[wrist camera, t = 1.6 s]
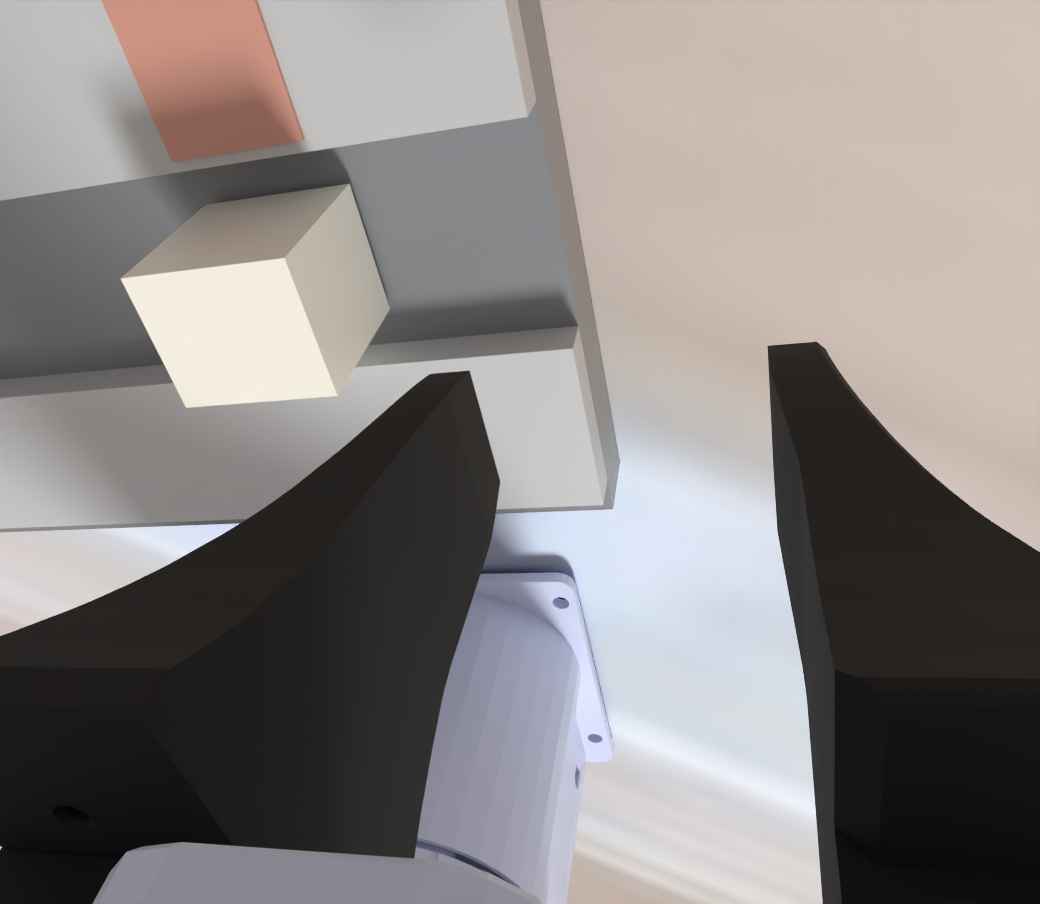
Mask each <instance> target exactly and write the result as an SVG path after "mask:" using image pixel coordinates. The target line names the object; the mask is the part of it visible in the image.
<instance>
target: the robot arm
mask: <svg viewBox="0 0 1040 904" xmlns="http://www.w3.org/2000/svg"><path fill="white" fill-rule="evenodd" d="M768 361H769V382H770V403H771V424H772V445H773V465H774V482H775V497H776V513H777V528H778V536H779V541H780V547H781V552H782V558H783V563H784V569H785V574H786V580H787V585H788V590H789V596H790V601H791V607H792V612H793V617H794V623H795V628H796V633H797V639H798V644H799V650H800V655H801V660H802V666H803V673H804V680H805V687H806V694H807V704H808V716H809V729H810V741H811V754H812V767H813V780H814V792H815V805H816V818H817V831H818V844H819V858H820V871H821V884H822V898H823V904H1040V552H1038V551H1037V550H1035V549H1034V548H1032V547H1030V546H1029V545H1027V544H1026V543H1024V542H1023V541H1021V540H1019V539H1018V538H1016V537H1015V536H1013V535H1012V534H1010V533H1009V532H1007V531H1005V530H1004V529H1002V528H1001V527H999V526H998V525H996V524H994V523H993V522H991V521H990V520H989V519H987V518H986V517H984V516H983V515H981V514H980V513H979V512H977V511H976V510H974V509H973V508H972V507H970V506H969V505H968V504H967V503H965V502H964V501H963V500H962V499H960V498H959V497H958V496H957V495H955V494H954V493H953V492H952V491H950V490H949V489H948V488H947V487H945V486H944V485H943V484H942V483H941V482H940V481H939V480H937V479H936V478H935V477H934V476H933V475H932V474H931V473H929V472H928V471H927V470H926V469H925V468H924V467H923V466H922V465H921V464H920V463H919V462H918V461H917V460H916V459H915V458H914V457H912V456H911V455H910V454H909V453H908V452H907V451H906V450H905V449H904V448H903V447H902V446H901V445H900V444H899V443H898V442H897V441H896V440H895V439H894V437H893V436H892V435H891V434H890V433H889V432H888V431H887V430H886V429H885V428H884V427H883V426H882V424H881V423H880V422H879V421H878V420H877V419H876V418H875V416H874V415H873V414H872V413H871V412H870V411H869V410H868V408H867V407H866V406H865V405H864V404H863V402H862V401H861V400H860V399H859V398H858V396H857V395H856V394H855V393H854V391H853V390H852V389H851V387H850V386H849V385H848V383H847V382H846V381H845V379H844V378H843V376H842V375H841V374H840V372H839V371H838V369H837V368H836V366H835V365H834V363H833V361H832V360H831V358H830V357H829V355H828V353H827V351H826V349H825V348H823V347H822V346H821V345H820V344H819V343H817V342H810V343H798V344H785V345H773V346H768ZM499 487H500V478H499V475H498V471H497V468H496V464H495V460H494V457H493V453H492V450H491V446H490V442H489V439H488V435H487V432H486V428H485V424H484V421H483V417H482V414H481V410H480V406H479V403H478V399H477V395H476V392H475V388H474V385H473V381H472V377H471V374H470V371H459V372H446V373H434V374H429V375H428V376H426V377H425V378H424V379H422V380H421V381H420V382H418V383H417V384H416V385H415V386H413V387H412V388H411V389H410V390H408V391H407V392H406V393H405V394H404V395H403V396H401V397H400V398H399V399H398V400H397V401H396V402H395V403H393V404H392V405H391V406H390V407H389V408H388V409H387V410H386V411H384V412H383V413H382V414H381V415H380V416H379V417H378V418H376V419H375V420H374V421H373V422H372V423H371V424H369V425H368V426H367V427H366V428H365V429H364V430H363V431H361V432H360V433H359V434H358V435H357V436H356V437H355V438H353V439H352V440H351V441H350V442H349V443H348V444H346V445H345V446H344V447H343V448H342V449H341V450H339V451H338V452H337V453H336V454H334V455H333V456H332V457H330V458H329V459H328V460H327V461H325V462H324V463H323V464H322V465H320V466H319V467H318V468H317V469H315V470H314V471H313V472H312V473H310V474H309V475H308V476H307V477H305V478H304V479H303V480H302V481H300V482H299V483H298V484H297V485H295V486H294V487H293V488H291V489H290V490H289V491H287V492H286V493H284V494H283V495H282V496H280V497H279V498H278V499H276V500H275V501H273V502H272V503H270V504H269V505H268V506H266V507H265V508H263V509H262V510H260V511H259V512H257V513H255V514H254V515H252V516H251V517H249V518H248V519H246V520H245V521H243V522H242V523H240V524H239V525H237V526H236V527H234V528H232V529H231V530H229V531H227V532H226V533H224V534H223V535H221V536H219V537H217V538H215V539H214V540H212V541H210V542H208V543H206V544H205V545H203V546H201V547H199V548H198V549H196V550H194V551H192V552H190V553H189V554H187V555H185V556H183V557H181V558H180V559H178V560H176V561H174V562H172V563H171V564H169V565H167V566H165V567H163V568H161V569H159V570H157V571H155V572H153V573H151V574H149V575H147V576H145V577H143V578H141V579H139V580H137V581H135V582H133V583H131V584H129V585H126V586H124V587H122V588H120V589H117V590H115V591H113V592H111V593H109V594H106V595H104V596H102V597H100V598H97V599H95V600H93V601H90V602H88V603H86V604H83V605H81V606H79V607H76V608H74V609H71V610H69V611H66V612H63V613H61V614H58V615H56V616H53V617H50V618H48V619H45V620H42V621H40V622H37V623H35V624H32V625H29V626H27V627H24V628H21V629H19V630H16V631H14V632H11V633H8V634H5V635H2V636H0V846H1V847H2V848H1V850H0V904H566V901H567V895H568V887H569V880H570V873H571V865H572V858H573V851H574V843H575V836H576V829H577V822H578V814H579V807H580V800H581V792H582V785H583V778H584V771H585V763H586V762H607V761H609V760H611V759H612V758H613V749H614V747H613V742H612V738H611V734H610V730H609V725H608V721H607V717H606V713H605V708H604V704H603V700H602V695H601V691H600V687H599V683H598V678H597V674H596V670H595V666H594V661H593V657H592V653H591V649H590V644H589V640H588V636H587V631H586V627H585V623H584V619H583V614H582V610H581V606H580V602H579V597H578V593H577V589H576V585H575V582H574V580H573V579H572V578H571V577H570V576H569V575H566V574H564V573H558V572H555V573H503V574H481V571H482V567H483V564H484V561H485V558H486V555H487V551H488V548H489V545H490V541H491V537H492V531H493V526H494V520H495V514H496V508H497V501H498V494H499ZM558 597H561V598H565V600H563V599H559V598H558Z"/></svg>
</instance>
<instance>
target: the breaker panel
mask: <svg viewBox="0 0 1040 904" xmlns="http://www.w3.org/2000/svg"><path fill="white" fill-rule="evenodd" d="M343 184H350V187H351V190H352V193H353V196H354V199H355V202H356V205H357V208H358V211H359V215H360V218H361V221H362V224H363V227H364V230H365V233H366V236H367V239H368V242H369V246H370V249H371V252H372V255H373V258H374V261H375V264H376V267H377V270H378V273H379V276H380V280H381V283H382V286H383V289H384V292H385V295H386V298H387V301H388V304H389V307H390V310H389V312H388V313H387V315H386V317H385V318H384V320H383V322H382V323H381V325H380V327H379V328H378V330H377V331H376V333H375V335H374V336H373V338H372V340H371V341H370V343H369V345H368V346H367V348H366V350H365V351H364V353H363V355H362V356H361V358H360V360H359V361H358V363H357V365H356V366H355V368H354V370H353V371H352V373H351V375H350V376H349V378H348V380H347V381H346V383H345V385H344V386H343V388H342V390H341V391H340V393H339V395H338V396H331V397H318V398H306V399H293V400H280V401H267V402H254V403H241V404H229V405H216V406H203V407H190V408H186V407H185V405H184V403H183V401H182V399H181V397H180V395H179V393H178V391H177V389H176V387H175V385H174V383H173V381H172V379H171V377H170V375H169V373H168V371H167V369H166V367H165V365H164V363H163V361H162V359H161V357H160V356H159V354H158V352H157V350H156V348H155V346H154V344H153V342H152V340H151V338H150V336H149V334H148V332H147V330H146V328H145V326H144V324H143V322H142V320H141V318H140V316H139V314H138V312H137V310H136V308H135V306H134V304H133V302H132V300H131V298H130V297H129V295H128V293H127V291H126V289H125V287H124V285H123V283H122V281H121V279H120V278H122V277H123V276H124V275H125V274H126V273H127V272H128V271H130V270H131V269H132V268H133V267H134V266H135V265H137V264H138V263H139V262H140V261H141V260H142V259H143V258H145V257H146V256H147V255H148V254H149V253H150V252H152V251H153V250H154V249H155V248H156V247H157V246H158V245H160V244H161V243H162V242H163V241H164V240H165V239H167V238H168V237H169V236H170V235H171V234H172V233H173V232H175V231H176V230H177V229H178V228H179V227H180V226H182V225H183V224H184V223H185V222H186V221H187V220H188V219H190V218H191V217H192V216H193V215H194V214H195V213H197V212H198V211H199V210H200V209H201V208H202V207H203V206H205V205H207V204H213V203H220V202H227V201H234V200H241V199H248V198H254V197H261V196H268V195H275V194H282V193H289V192H295V191H302V190H309V189H316V188H323V187H330V186H336V185H343ZM459 371H470V374H471V377H472V381H473V385H474V388H475V392H476V395H477V399H478V403H479V406H480V410H481V414H482V417H483V421H484V424H485V428H486V432H487V435H488V439H489V442H490V446H491V450H492V453H493V457H494V460H495V464H496V468H497V471H498V475H499V478H500V487H499V494H498V501H497V508H496V514H498V513H524V512H551V511H577V510H604V509H613V505H614V498H615V491H616V485H617V478H618V471H619V464H620V461H619V455H618V449H617V443H616V438H615V432H614V426H613V420H612V415H611V409H610V403H609V397H608V392H607V386H606V380H605V375H604V369H603V363H602V357H601V352H600V346H599V340H598V334H597V329H596V323H595V317H594V311H593V306H592V300H591V294H590V289H589V283H588V277H587V271H586V266H585V260H584V254H583V248H582V243H581V237H580V231H579V225H578V220H577V214H576V208H575V203H574V197H573V191H572V185H571V180H570V174H569V168H568V162H567V157H566V151H565V145H564V139H563V134H562V128H561V122H560V116H559V111H558V105H557V99H556V94H555V88H554V82H553V76H552V71H551V65H550V59H549V53H548V48H547V42H546V36H545V30H544V25H543V19H542V13H541V8H540V2H539V0H0V532H20V531H46V530H73V529H99V528H126V527H153V526H179V525H206V524H232V523H242V522H243V521H245V520H246V519H248V518H249V517H251V516H252V515H254V514H255V513H257V512H259V511H260V510H262V509H263V508H265V507H266V506H268V505H269V504H270V503H272V502H273V501H275V500H276V499H278V498H279V497H280V496H282V495H283V494H284V493H286V492H287V491H289V490H290V489H291V488H293V487H294V486H295V485H297V484H298V483H299V482H300V481H302V480H303V479H304V478H305V477H307V476H308V475H309V474H310V473H312V472H313V471H314V470H315V469H317V468H318V467H319V466H320V465H322V464H323V463H324V462H325V461H327V460H328V459H329V458H330V457H332V456H333V455H334V454H336V453H337V452H338V451H339V450H341V449H342V448H343V447H344V446H345V445H346V444H348V443H349V442H350V441H351V440H352V439H353V438H355V437H356V436H357V435H358V434H359V433H360V432H361V431H363V430H364V429H365V428H366V427H367V426H368V425H369V424H371V423H372V422H373V421H374V420H375V419H376V418H378V417H379V416H380V415H381V414H382V413H383V412H384V411H386V410H387V409H388V408H389V407H390V406H391V405H392V404H393V403H395V402H396V401H397V400H398V399H399V398H400V397H401V396H403V395H404V394H405V393H406V392H407V391H408V390H410V389H411V388H412V387H413V386H415V385H416V384H417V383H418V382H420V381H421V380H422V379H424V378H425V377H426V376H428V375H429V374H434V373H446V372H459Z"/></svg>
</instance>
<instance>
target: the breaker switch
mask: <svg viewBox="0 0 1040 904" xmlns="http://www.w3.org/2000/svg"><path fill="white" fill-rule="evenodd" d="M120 279H121V281H122V283H123V285H124V287H125V289H126V291H127V293H128V295H129V297H130V298H131V300H132V302H133V304H134V306H135V308H136V310H137V312H138V314H139V316H140V318H141V320H142V322H143V324H144V326H145V328H146V330H147V332H148V334H149V336H150V338H151V340H152V342H153V344H154V346H155V348H156V350H157V352H158V354H159V356H160V357H161V359H162V361H163V363H164V365H165V367H166V369H167V371H168V373H169V375H170V377H171V379H172V381H173V383H174V385H175V387H176V389H177V391H178V393H179V395H180V397H181V399H182V401H183V403H184V405H185V407H186V408H190V407H203V406H216V405H229V404H241V403H254V402H267V401H280V400H293V399H306V398H318V397H331V396H338V395H339V393H340V391H341V390H342V388H343V386H344V385H345V383H346V381H347V380H348V378H349V376H350V375H351V373H352V371H353V370H354V368H355V366H356V365H357V363H358V361H359V360H360V358H361V356H362V355H363V353H364V351H365V350H366V348H367V346H368V345H369V343H370V341H371V340H372V338H373V336H374V335H375V333H376V331H377V330H378V328H379V327H380V325H381V323H382V322H383V320H384V318H385V317H386V315H387V313H388V312H389V310H390V307H389V304H388V301H387V298H386V295H385V292H384V289H383V286H382V283H381V280H380V276H379V273H378V270H377V267H376V264H375V261H374V258H373V255H372V252H371V249H370V246H369V242H368V239H367V236H366V233H365V230H364V227H363V224H362V221H361V218H360V215H359V211H358V208H357V205H356V202H355V199H354V196H353V193H352V190H351V187H350V184H343V185H336V186H330V187H323V188H316V189H309V190H302V191H295V192H289V193H282V194H275V195H268V196H261V197H254V198H248V199H241V200H234V201H227V202H220V203H213V204H207V205H205V206H203V207H202V208H201V209H200V210H199V211H198V212H197V213H195V214H194V215H193V216H192V217H191V218H190V219H188V220H187V221H186V222H185V223H184V224H183V225H182V226H180V227H179V228H178V229H177V230H176V231H175V232H173V233H172V234H171V235H170V236H169V237H168V238H167V239H165V240H164V241H163V242H162V243H161V244H160V245H158V246H157V247H156V248H155V249H154V250H153V251H152V252H150V253H149V254H148V255H147V256H146V257H145V258H143V259H142V260H141V261H140V262H139V263H138V264H137V265H135V266H134V267H133V268H132V269H131V270H130V271H128V272H127V273H126V274H125V275H124V276H123V277H122V278H120Z"/></svg>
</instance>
